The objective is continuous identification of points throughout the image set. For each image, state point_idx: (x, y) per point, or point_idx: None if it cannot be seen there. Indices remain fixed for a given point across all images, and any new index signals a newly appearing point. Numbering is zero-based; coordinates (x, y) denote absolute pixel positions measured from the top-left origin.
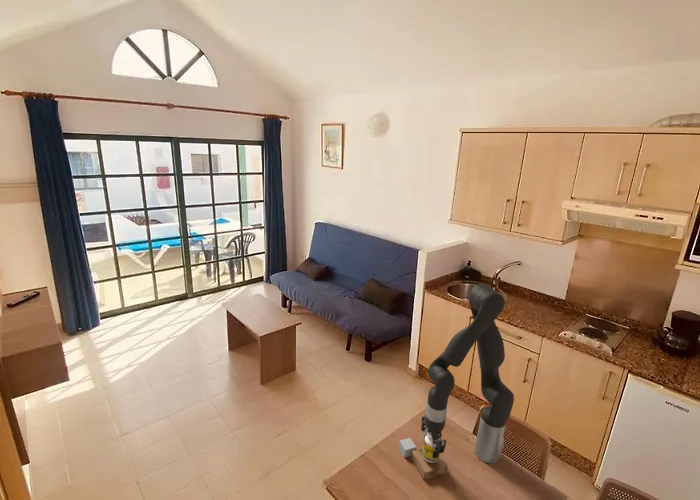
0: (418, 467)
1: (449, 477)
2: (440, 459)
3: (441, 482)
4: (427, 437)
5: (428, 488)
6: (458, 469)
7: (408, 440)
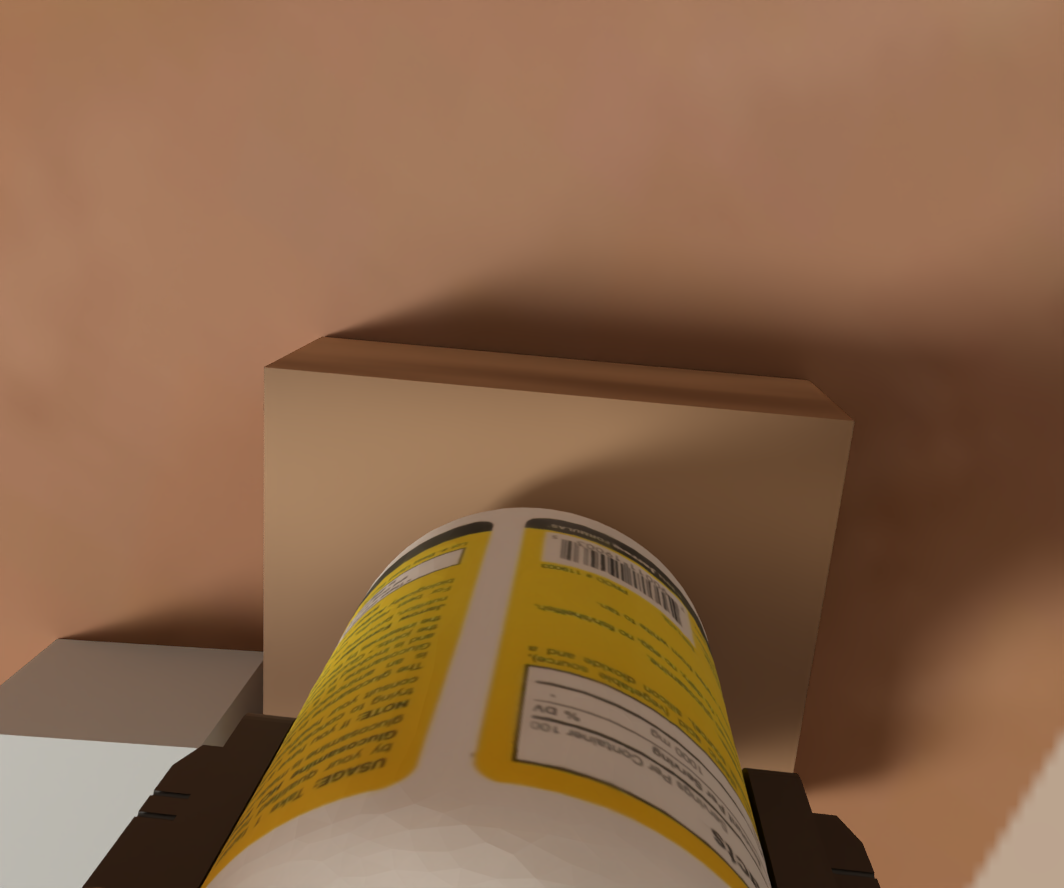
0: None
1: (897, 377)
2: (639, 458)
3: (911, 570)
4: None
5: (900, 815)
6: (835, 84)
7: (8, 794)
